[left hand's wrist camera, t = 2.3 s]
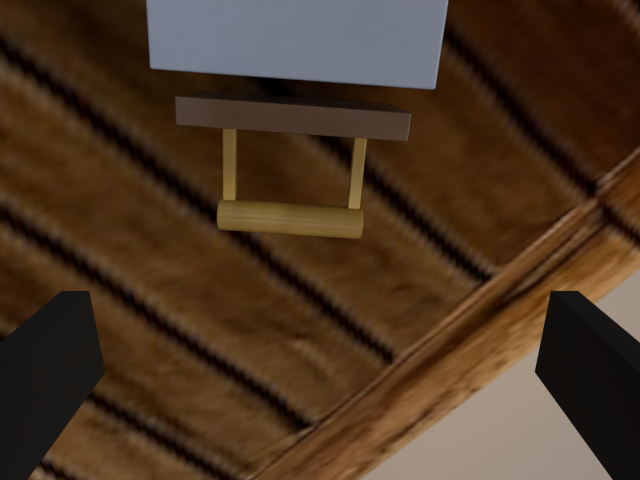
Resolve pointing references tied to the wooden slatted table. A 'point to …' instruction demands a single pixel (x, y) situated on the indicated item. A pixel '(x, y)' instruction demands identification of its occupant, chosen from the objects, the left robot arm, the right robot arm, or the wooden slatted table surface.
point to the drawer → (297, 119)
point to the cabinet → (301, 39)
